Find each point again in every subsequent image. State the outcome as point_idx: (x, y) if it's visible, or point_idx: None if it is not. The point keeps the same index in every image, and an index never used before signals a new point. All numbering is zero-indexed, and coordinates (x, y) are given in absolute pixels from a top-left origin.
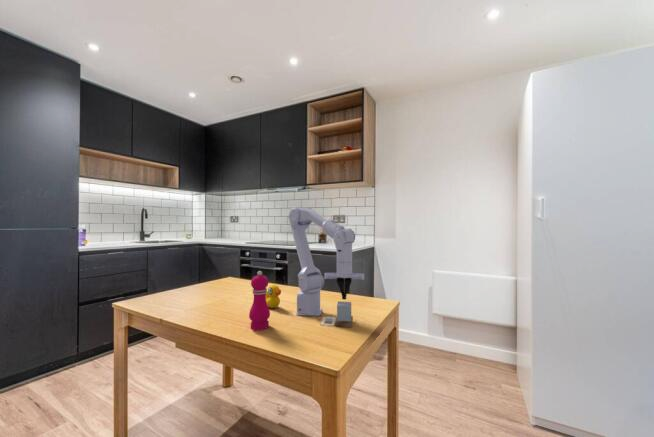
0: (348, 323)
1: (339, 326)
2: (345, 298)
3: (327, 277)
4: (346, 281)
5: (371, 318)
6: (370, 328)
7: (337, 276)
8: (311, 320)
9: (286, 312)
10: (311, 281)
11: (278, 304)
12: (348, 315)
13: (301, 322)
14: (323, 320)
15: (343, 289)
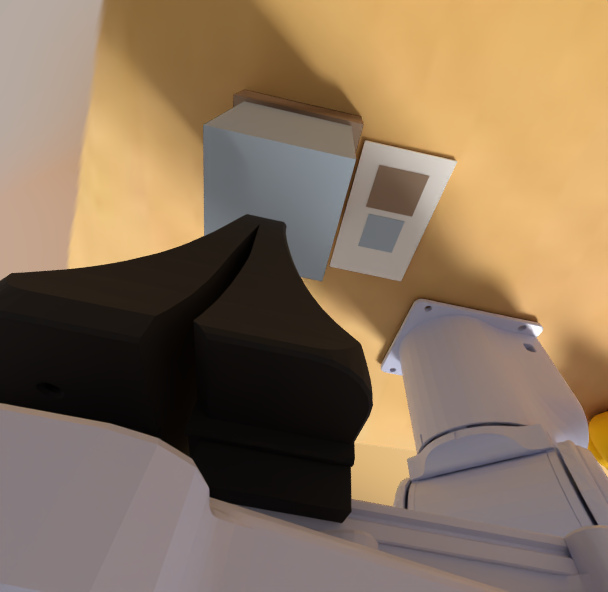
0: (267, 98)
1: (334, 111)
2: (247, 214)
3: (591, 571)
4: (79, 317)
5: (129, 232)
6: (116, 51)
7: (368, 571)
8: (485, 245)
9: (572, 363)
10: (562, 536)
11: (604, 422)
12: (254, 112)
13: (563, 222)
14: (416, 229)
15: (244, 266)
